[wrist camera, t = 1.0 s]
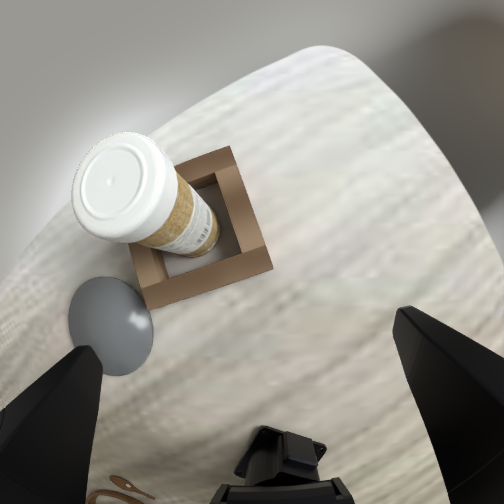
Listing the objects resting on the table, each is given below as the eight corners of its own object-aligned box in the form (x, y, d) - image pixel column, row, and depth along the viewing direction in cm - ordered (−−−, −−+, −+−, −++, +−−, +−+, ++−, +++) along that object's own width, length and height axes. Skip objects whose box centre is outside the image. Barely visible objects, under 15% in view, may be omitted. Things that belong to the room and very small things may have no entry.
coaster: (135, 391, 23) (133, 393, 22) (63, 342, 24) (60, 343, 23) (168, 305, 23) (165, 306, 23) (88, 260, 24) (84, 260, 23)
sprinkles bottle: (188, 193, 24) (111, 113, 10) (233, 223, 23) (187, 157, 10) (158, 238, 24) (52, 201, 10) (200, 270, 23) (116, 262, 10)
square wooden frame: (273, 269, 23) (273, 268, 21) (158, 307, 23) (147, 310, 21) (232, 156, 24) (229, 145, 22) (128, 198, 24) (116, 191, 22)
